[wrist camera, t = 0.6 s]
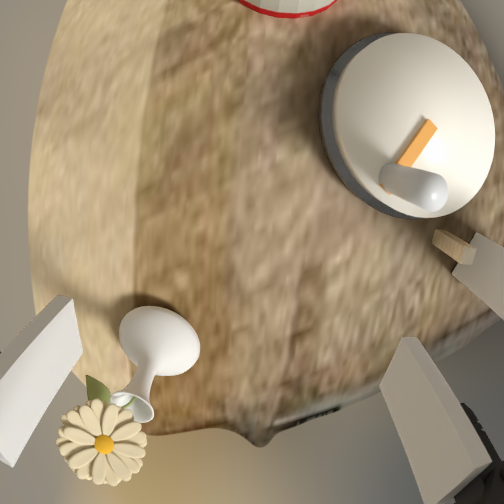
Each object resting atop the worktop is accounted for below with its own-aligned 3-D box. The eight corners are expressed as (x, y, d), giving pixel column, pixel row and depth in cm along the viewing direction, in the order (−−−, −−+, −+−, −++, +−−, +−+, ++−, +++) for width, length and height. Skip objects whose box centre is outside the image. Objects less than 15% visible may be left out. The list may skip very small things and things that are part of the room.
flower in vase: (211, 362, 42) (185, 526, 18) (141, 368, 43) (86, 508, 19) (183, 281, 37) (109, 456, 14) (107, 294, 38) (4, 433, 15)
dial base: (325, 17, 26) (340, -7, 20) (478, 70, 27) (511, 65, 20) (303, 228, 35) (314, 249, 28) (455, 246, 35) (485, 266, 29)
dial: (392, 9, 23) (439, -28, 13) (499, 126, 27) (559, 132, 17) (293, 133, 29) (313, 129, 19) (422, 244, 33) (474, 283, 23)
